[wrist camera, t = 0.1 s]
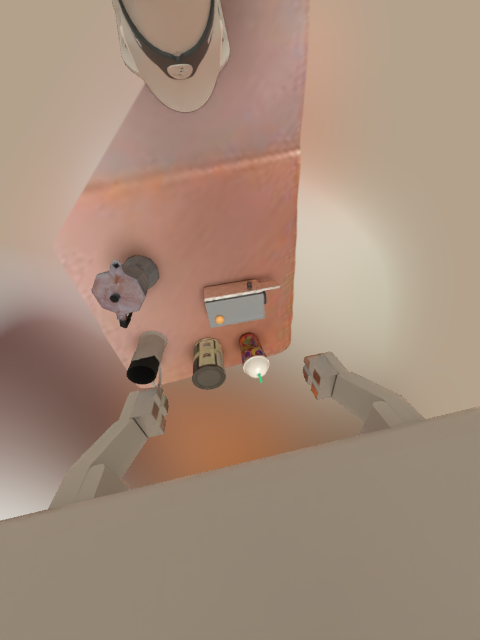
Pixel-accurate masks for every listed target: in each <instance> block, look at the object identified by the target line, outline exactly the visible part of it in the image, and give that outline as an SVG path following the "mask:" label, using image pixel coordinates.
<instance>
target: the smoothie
mask: <svg viewBox="0 0 480 640" xmlns="http://www.w3.org/2000/svg"><path fill="white" fill-rule="evenodd" d="M239 343H240V349H241V356H242V362H243V370H244V371H245V373H247V374H248V375H249V376H251V377H253V378H259V379H260V382H261V383H262V379H261V377H262V376H264V375H265V374H266V373H267V370H268V367H269V361H268V359H267V357H266V355H265V353H264V351H263V349H262V347H261V345H260V343H259V341H258V339H257V337H256V336H255V335H253V334H250V333H248V334H245V335H243V336H242V337H241V339H240V342H239Z"/></svg>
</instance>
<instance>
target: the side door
mask: <svg viewBox="0 0 480 640" xmlns="http://www.w3.org/2000/svg"><path fill="white" fill-rule="evenodd" d="M276 288H280V285H279V284H278V283H277V282H276V281H275V280H273V281H267V282H260V283H258V281H257V280H256V279H253V280H247V281H241V282H235V283H229V284H223V285H217V286H211V287H204V300H205V302H206V301H212V300H218V299H224V298H230V297H235V296H241V295H247V294H253V293H259V292H263V291H264V290H270V289H276Z"/></svg>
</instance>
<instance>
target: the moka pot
mask: <svg viewBox="0 0 480 640" xmlns="http://www.w3.org/2000/svg"><path fill="white" fill-rule="evenodd" d="M158 279H159V272H158V268H157V266H156V265H155V264H154V262H153V261H152V260H151V259H149V258H147V257H144V256H140V255H138V256H133V257H130V258H128V259H127V261H126V262H125V264H124V265H122V264H121V263H120V262H119V260H114V261H113V262H112V263H111V266H110V270H109V271H107V272H103V273H100V274H97V276H96V279H95V282H94V285H93V288H92V293H93V294H94V296H95V298H96V299H97V301H98V302H99V304H100V305H101V307H102V308H104V309H107V310H109V311H112V312H115V313H116V314H117V319H119V321H120V326H121V327H123V328H127V327H128V325H129V323H130V321H131V316H132V313H133V312H135V311H139V310H140V308H141V306H142V303H143V301H144V299H145V296H146V294H147V290H148V289H149V288H151V287H152V286H153V285H154V284H155V283H156V281H157V280H158ZM128 313H129V315H128V316H127V314H128Z"/></svg>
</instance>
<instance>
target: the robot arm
mask: <svg viewBox="0 0 480 640" xmlns="http://www.w3.org/2000/svg"><path fill="white" fill-rule="evenodd" d="M112 3H113V7H114V10H115V14H116V21H117V27H118V34H119V41H120V47H121V54H122V58H123V60H124V62H125V65H126V66H127V67H128V68H129V69H130V70H131V71H132V72H133V73H135V74H136V75H137V76H139V77H140V78H142V79H143V80H144V82H145V83H146V84H147V86H148V87H149V88H150V90H151V91H152V92H153V94H154V95H155V96H156V97H157V98H158V99H159V100H160V101H161V102H162V103H163V104H165V105H166V106H167V107H169V108H171V109H173V110H176V111H179V112H191V111H195V110H197V109H199V108H200V107H202V106H203V105H204V104H205V103H206V102H207V100H208V99H209V97H210V96H211V94H212V92H213V89H214V87H215V83H216V80H217V77H218V74H219V72H220V71H221V70H222V69H223V67H224V66H225V65H226V63H227V62H228V60H229V57H230V47H229V42H228V37H227V32H226V27H225V23H224V18H223V13H222V8H221V3H220V0H112ZM222 40H223V43H222ZM126 46H127V49H128V50H127V49H126ZM304 363H305V366H304V367H303V374H304V378H305V380H306V382H307V383H308V384H309V385H311V391H312V392H313V394H314V396H315V398H316V399H317V400H319V399H324V398H330V397H332V399H334V400H335V401H337V402H338V403H339V404H341V405H342V406H344V407H345V408H346V409H348V410H349V411H350V412H352V413H353V414H354V415H356V416H357V417H359V418H360V419H361V420H363V421H364V424H363V427H362V429H361V434H362V435H358V436H354V437H350V438H346V439H341V440H337V441H333V442H328V443H324V444H320V445H316V446H312V447H307V448H303V449H299V450H295V451H291V452H287V453H282V454H278V455H274V456H270V457H265V458H261V459H257V460H253V461H249V462H245V463H240V464H236V465H232V466H228V467H223V468H219V469H215V470H211V471H207V472H203V473H198V474H194V475H190V476H186V477H182V478H177V479H173V480H169V481H165V482H161V483H157V484H152V485H148V486H145V487H140V488H136V489H132V490H129V488H130V487H129V485H128V484H127V483H126V482H124V481H123V480H122V479H121V478H122V477H123V475H124V474H125V472H126V471H127V469H128V467H129V466H130V465H131V463H132V462H133V460H134V459H135V457H136V456H137V454H138V452H139V451H140V450H141V448H142V447H143V445H144V443H145V442H146V441H147V439H148V437H152V436H156V435H161V434H164V431H165V426H166V420H165V418H164V417H165V416H166V415H167V413H168V399H167V397H166V396H165V395H164V394H163V389H162V387H154V388H148V389H143V390H138V391H132V392H131V393H130V394H129V395H128V398H127V400H126V403H125V405H124V408H123V411H122V413H121V415H120V418H119V421H117V422H115V423H114V424H113V425H112V426H111V427H110V428H109V429H108V430H107V431H106V432H105V433H104V434H103V435H102V436H101V437H100V438H99V439H98V440H97V441H96V442H95V443H94V444H93V445H92V446H91V447H90V448H89V449H88V450H87V451H86V452H85V453H84V454H83V455H82V456H81V457H80V458H79V460H77V461H76V462H75V464H74V465H73V466H72V467H71V468H70V469H69V470H68V471H67V473H66V475H65V477H64V479H63V481H62V483H61V485H60V487H59V489H58V491H57V492H56V494H55V496H54V498H53V500H52V503H51V504H50V506H49V508H48V510H44V511H39V512H35V513H31V514H27V515H23V516H18V517H14V518H10V519H6V520H1V521H0V640H480V406H479V407H475V408H471V409H467V410H462V411H459V412H454V413H450V414H445V415H442V416H437V417H433V418H429V419H425V418H424V417H423V416H422V415H421V414H420V413H419V412H418V411H417V410H416V409H415V408H414V407H413V406H411V404H410V403H408V401H406V400H405V399H404V398H403V397H402V396H401V395H399V394H397V393H395V392H393V391H391V390H389V389H387V388H385V387H382V386H381V385H378V384H376V383H374V382H372V381H370V380H367V379H366V378H364V377H362V376H360V375H357V374H355V373H353V372H349V371H347V369H346V368H345V367H344V366H343V364H342V363H341V362H340V361H339V360H338V359H337V357H335V355H334V354H333V353H332V352H326V353H322V354H316V355H311V356H307V357H305V358H304Z"/></svg>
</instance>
